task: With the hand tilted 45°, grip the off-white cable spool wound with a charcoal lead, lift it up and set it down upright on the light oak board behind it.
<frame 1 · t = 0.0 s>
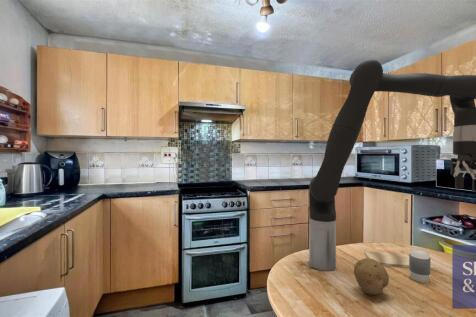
hand: (467, 190, 80), 29 cm above the table, fingers open, 8 cm apart
natural sponge: (371, 293, 72), on the table
cable spool: (419, 278, 81), on the table
oak board: (396, 261, 94), on the table
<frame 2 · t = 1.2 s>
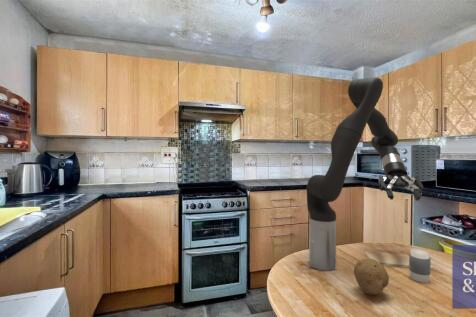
hand: (405, 198, 92), 24 cm above the table, fingers open, 8 cm apart
nothing on the table moved.
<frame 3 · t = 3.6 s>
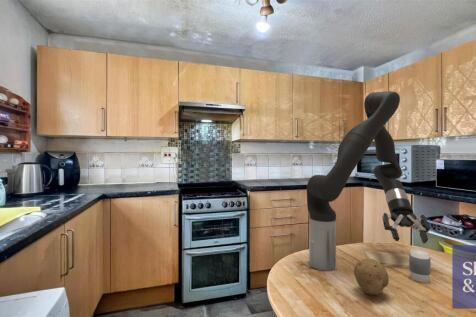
hand: (411, 241, 86), 10 cm above the table, fingers open, 8 cm apart
nothing on the table moved.
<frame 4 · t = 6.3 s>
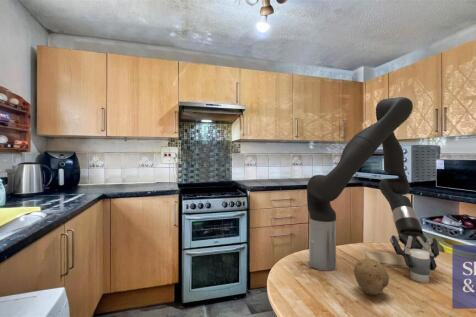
hand: (422, 268, 79), 4 cm above the table, fingers closed on cable spool, 5 cm apart
cable spool: (419, 278, 81), on the table, touching gripper
everything else where it was.
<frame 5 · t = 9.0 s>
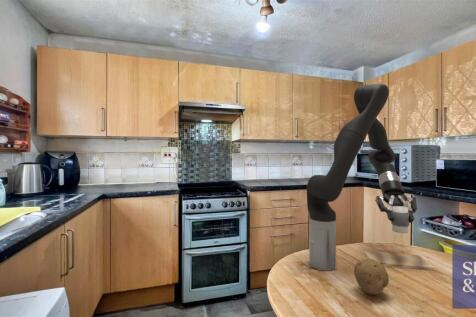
hand: (401, 221, 90), 16 cm above the table, fingers closed on cable spool, 5 cm apart
cable spool: (400, 231, 92), point 12 cm above the table, touching gripper
everything else where it was.
when the fingers open (7 cm above the table, at t = 11.8 s): cable spool drops 1 cm, resting on oak board.
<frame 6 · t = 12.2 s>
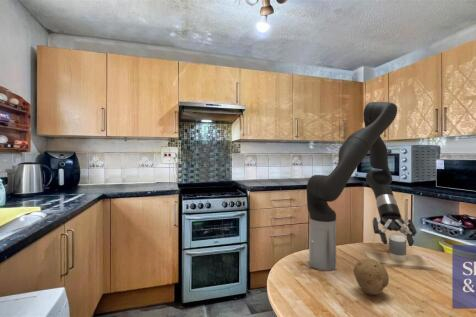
hand: (398, 244, 92), 7 cm above the table, fingers open, 8 cm apart
cable spool: (397, 259, 94), point 1 cm above the table, touching oak board
everything else where it was.
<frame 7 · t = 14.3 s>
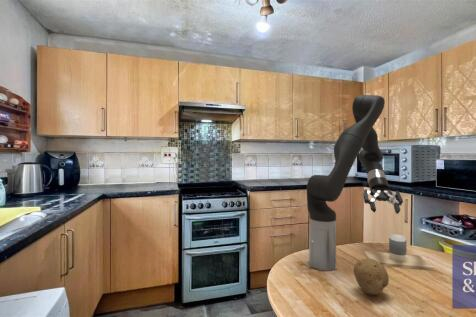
hand: (386, 211, 100), 18 cm above the table, fingers open, 8 cm apart
nothing on the table moved.
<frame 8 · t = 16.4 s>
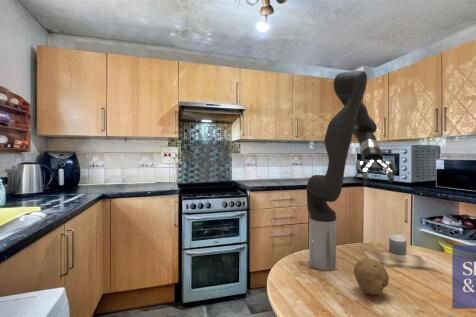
hand: (379, 181, 96), 31 cm above the table, fingers open, 8 cm apart
nothing on the table moved.
at the end: cable spool inside the target area on the oak board (0.4 cm from its centre), point 1.0 cm above the oak board's base; cable spool tilted 1°; the gripper is holding nothing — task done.
